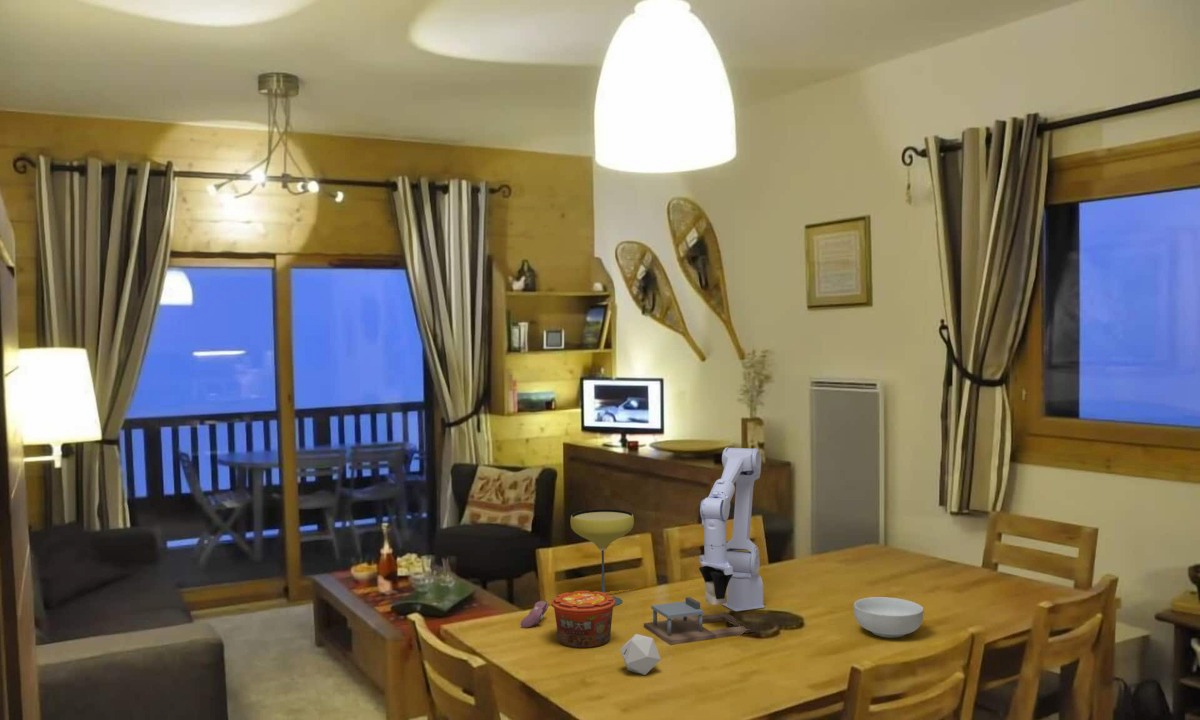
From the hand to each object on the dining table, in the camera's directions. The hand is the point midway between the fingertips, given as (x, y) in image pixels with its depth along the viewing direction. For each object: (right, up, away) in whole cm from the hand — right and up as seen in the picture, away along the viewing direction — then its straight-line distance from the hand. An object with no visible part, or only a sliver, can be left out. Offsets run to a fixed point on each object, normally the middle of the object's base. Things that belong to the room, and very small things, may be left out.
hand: (716, 596), depth 253 cm
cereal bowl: (+43, -8, -7) cm, 44 cm away
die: (-21, -10, -32) cm, 39 cm away
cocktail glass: (-29, -8, +26) cm, 40 cm away
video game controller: (-47, -9, +7) cm, 48 cm away
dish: (-8, -8, +13) cm, 17 cm away
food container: (-34, -9, -9) cm, 36 cm away
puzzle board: (-5, -8, -2) cm, 9 cm away
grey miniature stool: (-10, -7, -4) cm, 13 cm away
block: (0, -2, 0) cm, 2 cm away
